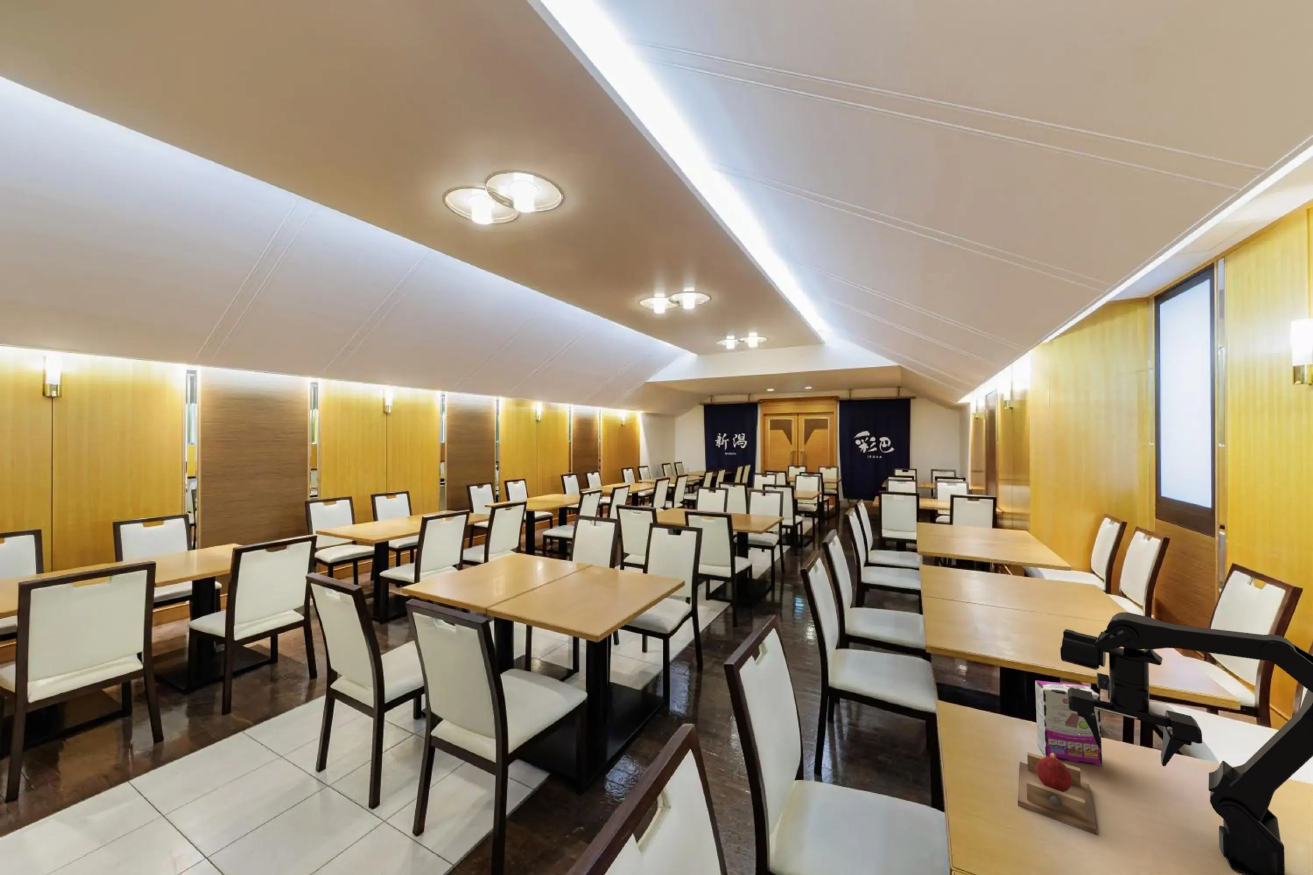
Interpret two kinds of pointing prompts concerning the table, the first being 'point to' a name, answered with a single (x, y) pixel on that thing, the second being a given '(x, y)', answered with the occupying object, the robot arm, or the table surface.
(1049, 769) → the onion
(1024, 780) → the cup
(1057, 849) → the table surface
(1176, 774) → the table surface
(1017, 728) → the table surface
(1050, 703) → the candy bar box
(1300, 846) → the table surface
